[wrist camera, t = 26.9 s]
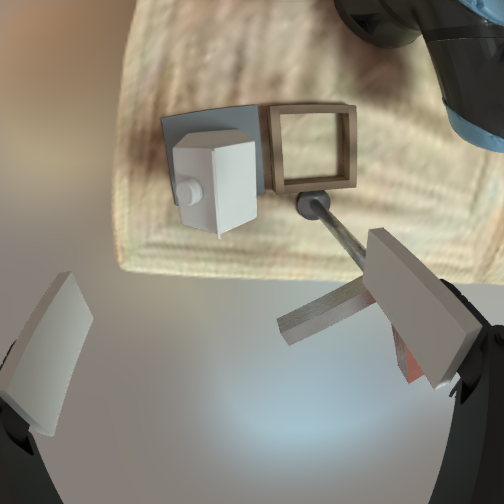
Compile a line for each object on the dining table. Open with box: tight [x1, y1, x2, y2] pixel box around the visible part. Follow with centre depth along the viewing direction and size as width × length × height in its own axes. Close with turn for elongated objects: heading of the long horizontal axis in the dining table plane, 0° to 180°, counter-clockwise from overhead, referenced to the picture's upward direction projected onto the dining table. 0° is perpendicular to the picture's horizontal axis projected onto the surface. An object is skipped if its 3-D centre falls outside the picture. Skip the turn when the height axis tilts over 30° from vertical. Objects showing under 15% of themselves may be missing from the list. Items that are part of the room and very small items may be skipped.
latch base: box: [297, 190, 330, 220], centre depth 43 cm, size 5×5×1 cm
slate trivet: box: [161, 105, 265, 206], centre depth 38 cm, size 13×13×1 cm
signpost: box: [277, 199, 424, 383], centre depth 33 cm, size 12×12×27 cm
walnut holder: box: [266, 105, 357, 195], centre depth 38 cm, size 12×12×2 cm
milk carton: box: [173, 129, 257, 240], centre depth 29 cm, size 7×7×19 cm
